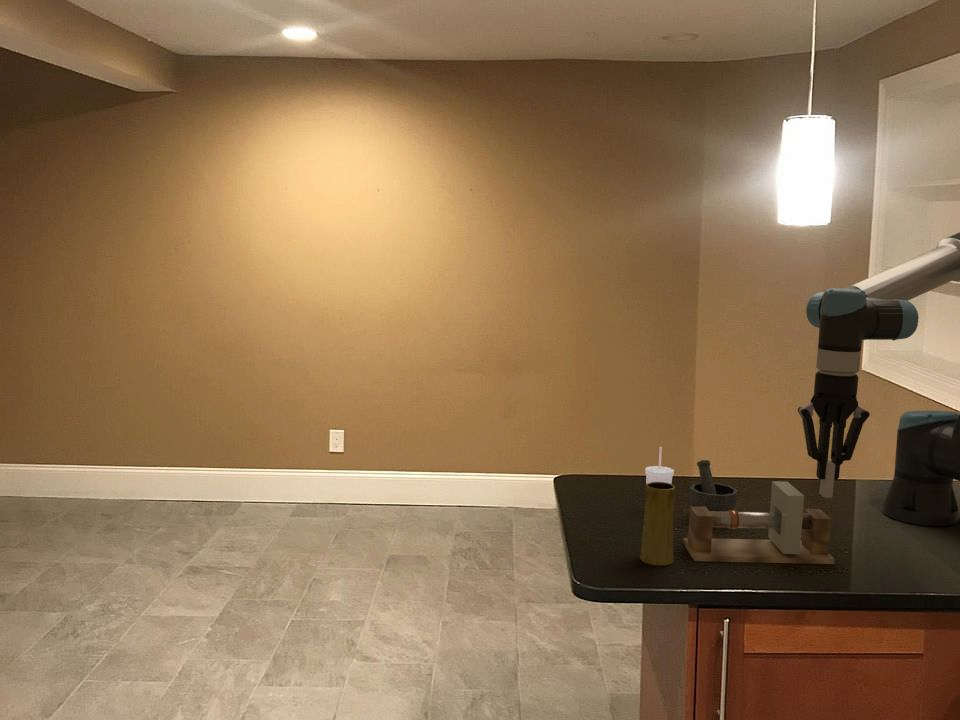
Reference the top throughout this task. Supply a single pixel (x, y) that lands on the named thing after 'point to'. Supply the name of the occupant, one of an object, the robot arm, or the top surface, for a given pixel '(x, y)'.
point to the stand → (756, 542)
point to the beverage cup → (659, 472)
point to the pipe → (753, 519)
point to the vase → (658, 524)
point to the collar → (787, 517)
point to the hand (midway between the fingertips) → (825, 495)
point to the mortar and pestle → (711, 491)
